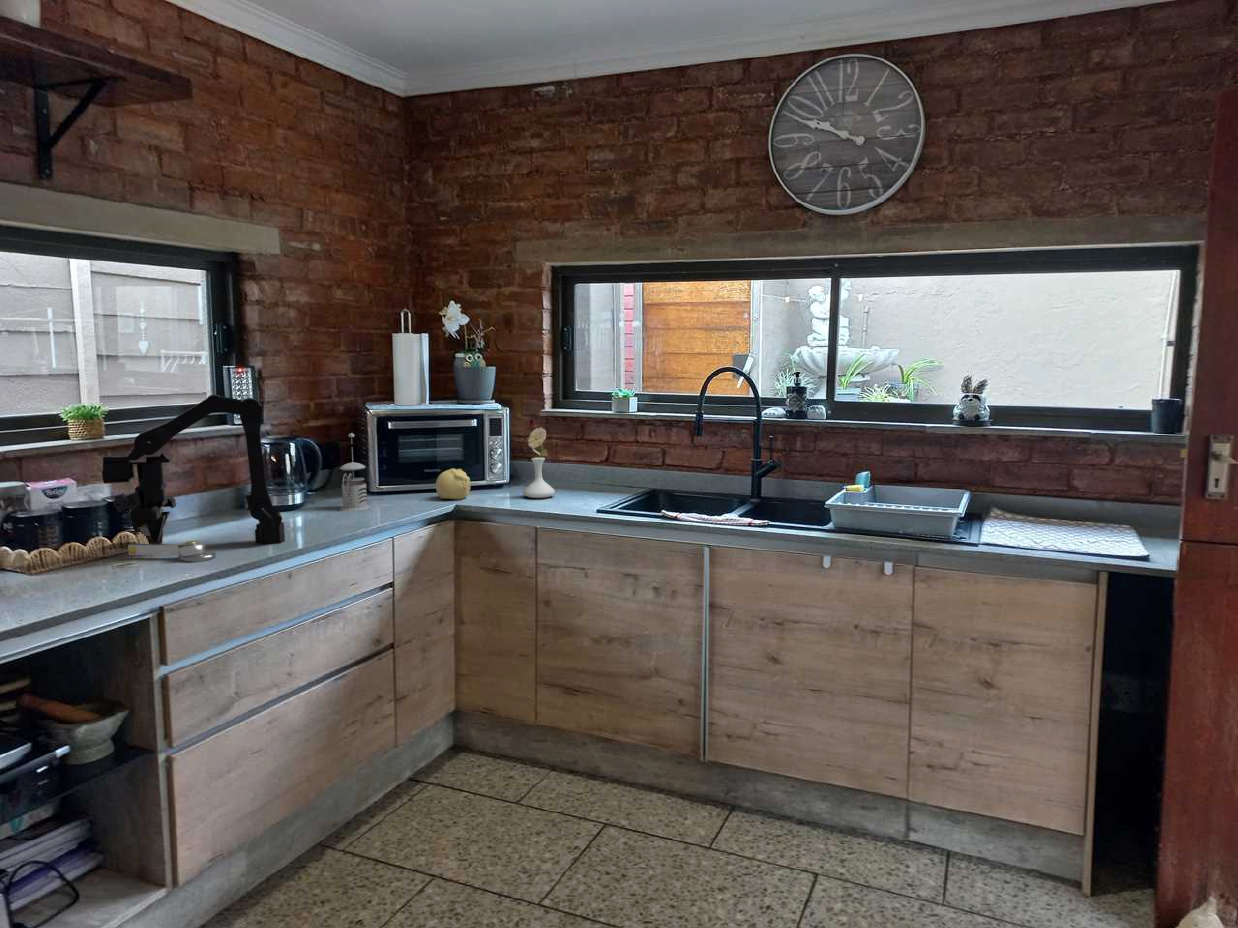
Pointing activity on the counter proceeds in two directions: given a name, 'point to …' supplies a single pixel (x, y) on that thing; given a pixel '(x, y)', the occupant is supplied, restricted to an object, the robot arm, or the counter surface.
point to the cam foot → (175, 551)
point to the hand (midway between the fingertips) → (155, 541)
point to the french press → (353, 488)
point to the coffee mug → (145, 531)
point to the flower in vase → (538, 468)
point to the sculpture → (453, 484)
